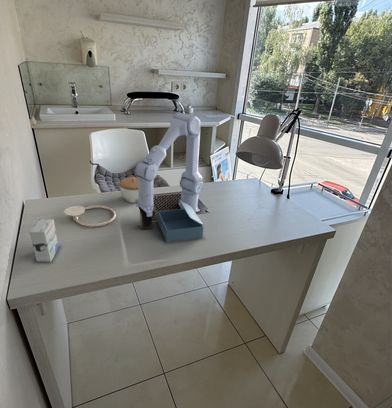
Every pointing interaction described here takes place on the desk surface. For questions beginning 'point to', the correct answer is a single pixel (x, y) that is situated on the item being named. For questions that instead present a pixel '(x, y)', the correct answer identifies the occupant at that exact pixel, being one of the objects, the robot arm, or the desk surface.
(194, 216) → the flap
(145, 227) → the walnut block
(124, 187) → the lidded bowl
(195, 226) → the carton
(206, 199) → the desk surface
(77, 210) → the hand towel holder
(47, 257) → the ink box
